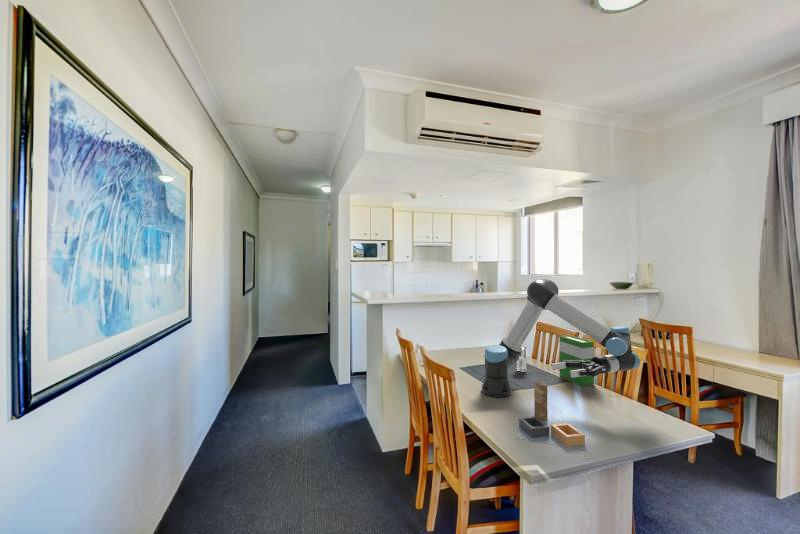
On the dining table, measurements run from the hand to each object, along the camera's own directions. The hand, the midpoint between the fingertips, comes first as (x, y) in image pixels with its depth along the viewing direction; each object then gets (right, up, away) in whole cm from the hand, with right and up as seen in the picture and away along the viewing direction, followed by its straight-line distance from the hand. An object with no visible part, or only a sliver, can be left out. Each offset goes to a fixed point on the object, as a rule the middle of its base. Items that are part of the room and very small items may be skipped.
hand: (561, 370), depth 147 cm
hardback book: (+30, -20, +45) cm, 58 cm away
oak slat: (-10, -21, -3) cm, 23 cm away
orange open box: (-8, -20, -21) cm, 29 cm away
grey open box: (-18, -20, -14) cm, 30 cm away
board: (-13, -21, -18) cm, 30 cm away
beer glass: (+5, -20, +61) cm, 65 cm away
